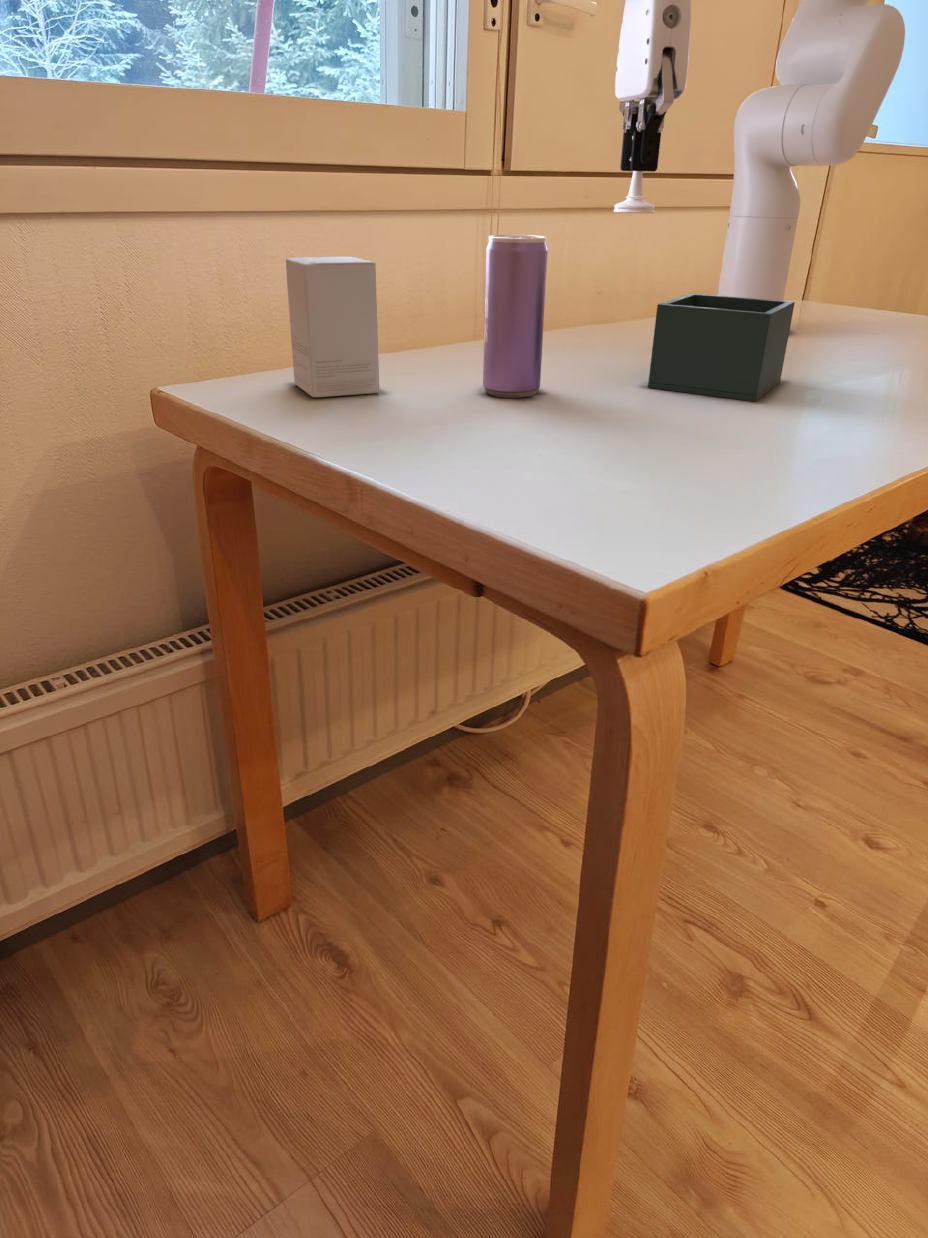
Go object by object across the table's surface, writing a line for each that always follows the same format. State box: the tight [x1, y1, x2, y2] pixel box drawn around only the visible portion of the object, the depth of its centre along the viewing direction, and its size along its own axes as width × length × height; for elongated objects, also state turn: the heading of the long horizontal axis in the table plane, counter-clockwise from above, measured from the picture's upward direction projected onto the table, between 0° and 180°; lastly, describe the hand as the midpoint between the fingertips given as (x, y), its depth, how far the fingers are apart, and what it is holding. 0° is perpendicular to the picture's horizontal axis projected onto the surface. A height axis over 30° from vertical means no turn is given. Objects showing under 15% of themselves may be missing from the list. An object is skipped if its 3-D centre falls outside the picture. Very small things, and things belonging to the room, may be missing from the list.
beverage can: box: [482, 234, 549, 399], centre depth 87 cm, size 6×6×15 cm
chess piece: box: [612, 122, 655, 214], centre depth 102 cm, size 5×5×10 cm
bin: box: [647, 293, 796, 403], centre depth 94 cm, size 12×12×9 cm
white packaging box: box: [285, 256, 380, 398], centre depth 87 cm, size 7×7×13 cm
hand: (638, 169), depth 102 cm, fingers closed on chess piece
